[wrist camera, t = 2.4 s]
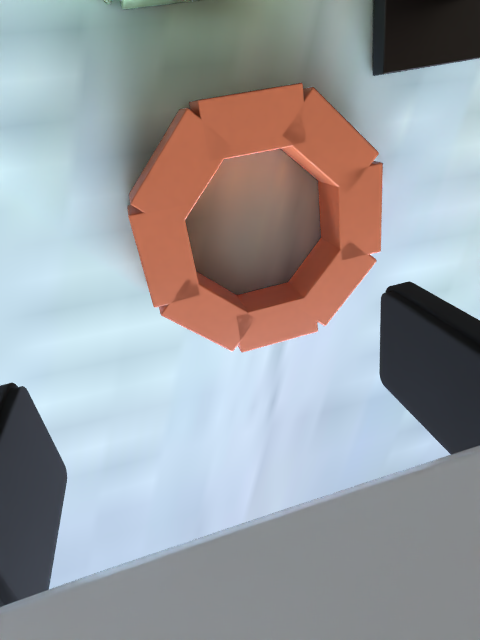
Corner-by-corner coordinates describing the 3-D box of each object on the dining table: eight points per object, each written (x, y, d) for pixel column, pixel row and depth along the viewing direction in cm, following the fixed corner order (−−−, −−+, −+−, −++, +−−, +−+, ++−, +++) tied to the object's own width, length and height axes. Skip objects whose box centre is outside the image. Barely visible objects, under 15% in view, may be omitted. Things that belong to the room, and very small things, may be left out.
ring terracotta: (167, 349, 24) (172, 372, 22) (102, 116, 18) (100, 116, 16) (358, 299, 26) (379, 315, 24) (357, 74, 20) (385, 68, 18)
